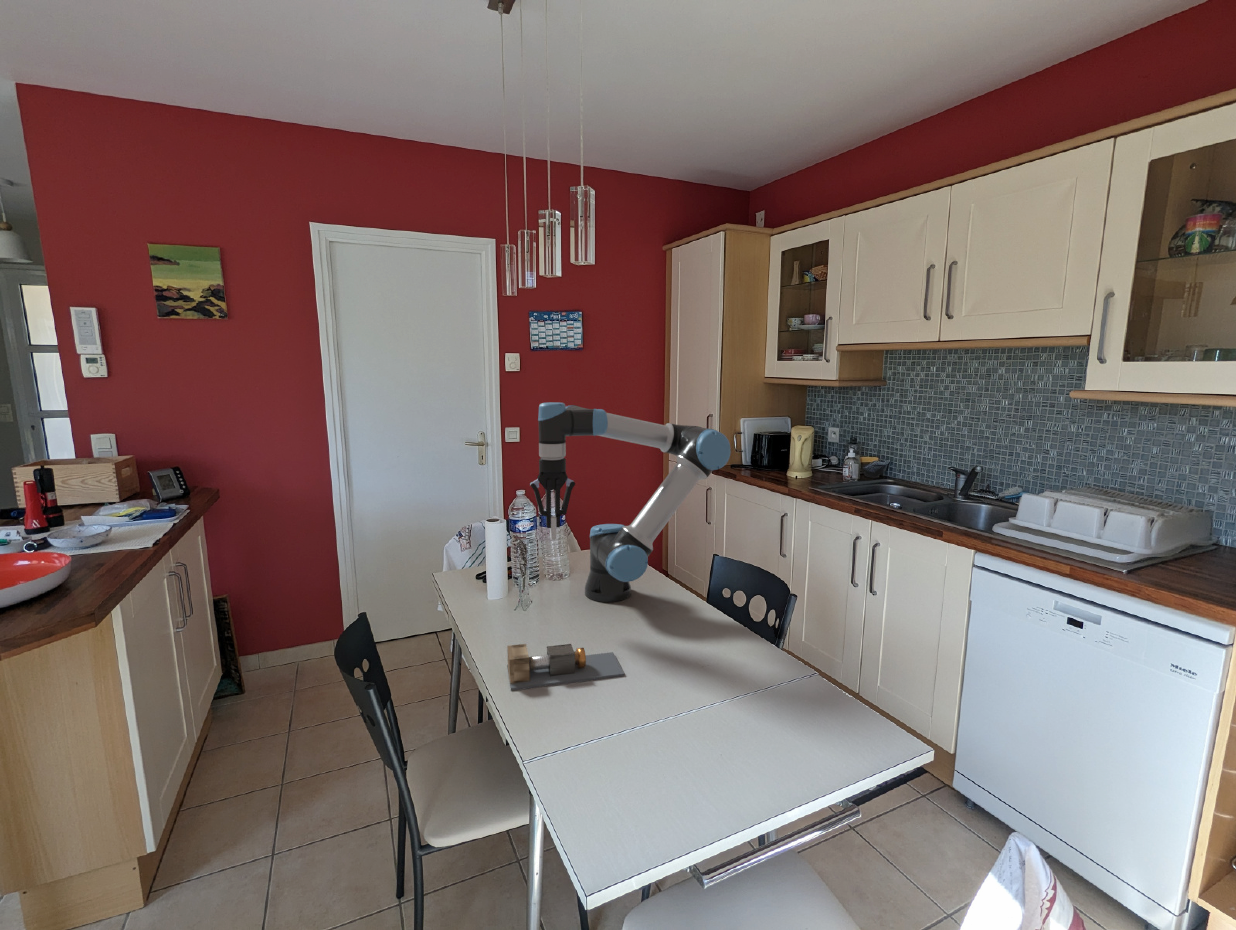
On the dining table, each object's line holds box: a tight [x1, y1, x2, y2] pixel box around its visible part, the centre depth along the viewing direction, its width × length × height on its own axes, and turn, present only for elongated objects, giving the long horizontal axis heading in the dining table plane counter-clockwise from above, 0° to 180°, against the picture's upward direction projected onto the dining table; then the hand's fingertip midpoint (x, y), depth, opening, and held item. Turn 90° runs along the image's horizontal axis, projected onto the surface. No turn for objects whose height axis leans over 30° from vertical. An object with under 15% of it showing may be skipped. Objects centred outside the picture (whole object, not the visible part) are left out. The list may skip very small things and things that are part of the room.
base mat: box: [506, 651, 625, 691], centre depth 143 cm, size 27×11×1 cm, turn 105°
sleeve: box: [546, 643, 575, 677], centre depth 143 cm, size 6×5×5 cm
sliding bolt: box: [529, 647, 587, 671], centre depth 142 cm, size 16×5×5 cm, turn 105°
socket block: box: [506, 643, 530, 685], centre depth 140 cm, size 4×7×6 cm, turn 15°
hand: (553, 538), depth 169 cm, fingers closed
